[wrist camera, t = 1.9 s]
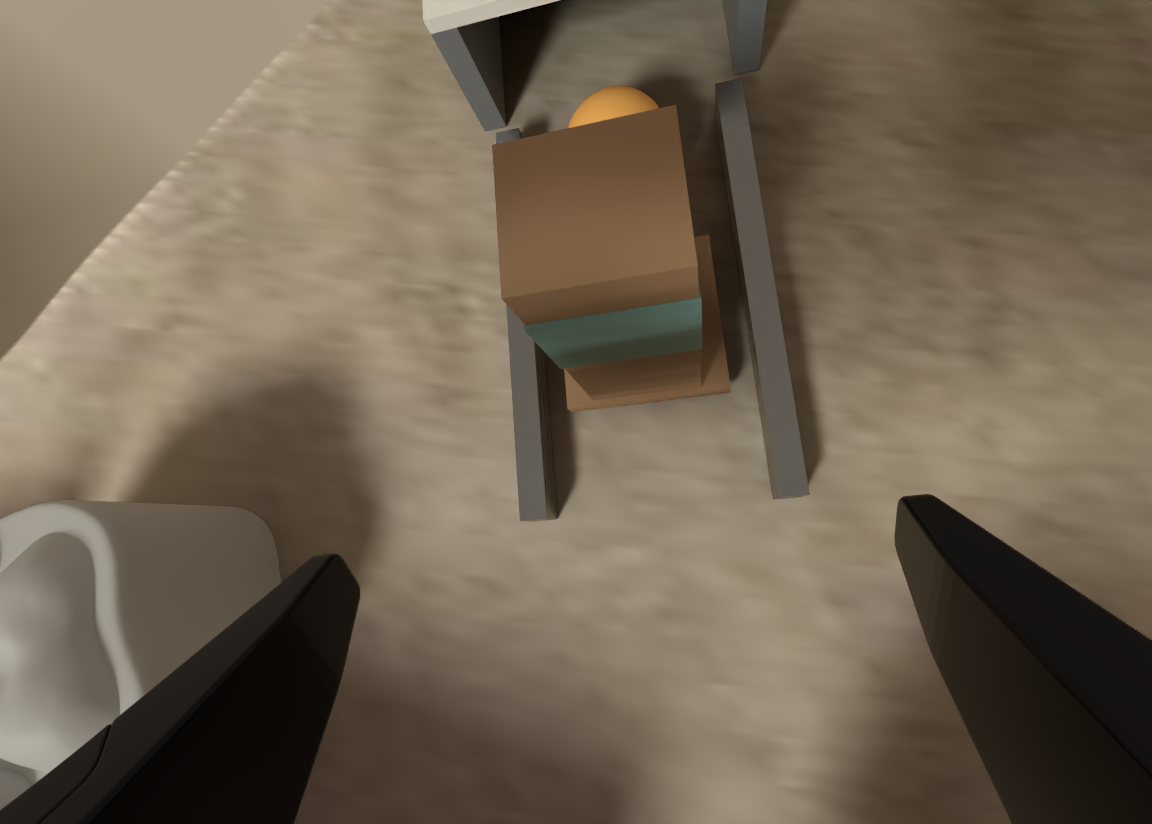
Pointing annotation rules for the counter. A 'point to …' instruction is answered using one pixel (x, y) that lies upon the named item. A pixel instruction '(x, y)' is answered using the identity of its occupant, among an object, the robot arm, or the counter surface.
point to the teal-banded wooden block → (610, 261)
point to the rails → (761, 327)
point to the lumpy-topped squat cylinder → (110, 613)
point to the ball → (611, 105)
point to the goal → (474, 3)
